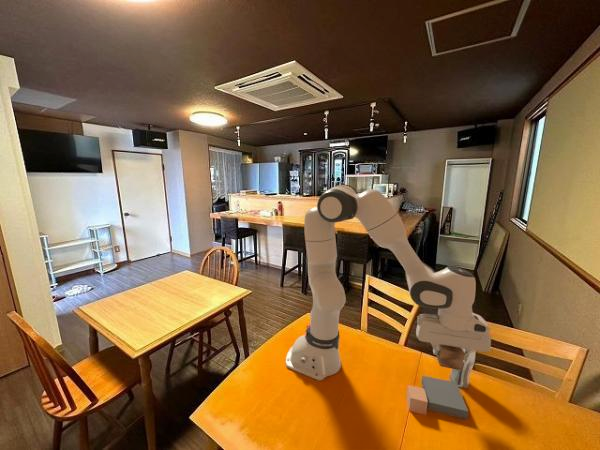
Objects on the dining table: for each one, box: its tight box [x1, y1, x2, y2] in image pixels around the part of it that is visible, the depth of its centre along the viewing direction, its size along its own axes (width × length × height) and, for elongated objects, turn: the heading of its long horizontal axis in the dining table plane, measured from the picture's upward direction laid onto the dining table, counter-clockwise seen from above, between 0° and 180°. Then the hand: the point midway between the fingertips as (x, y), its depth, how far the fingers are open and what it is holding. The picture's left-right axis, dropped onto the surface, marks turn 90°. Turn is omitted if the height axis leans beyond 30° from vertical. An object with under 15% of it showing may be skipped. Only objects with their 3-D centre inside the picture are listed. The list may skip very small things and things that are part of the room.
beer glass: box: [449, 348, 477, 389], centre depth 87 cm, size 7×7×15 cm
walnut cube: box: [435, 344, 464, 370], centre depth 78 cm, size 6×6×6 cm
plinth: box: [421, 375, 469, 420], centre depth 81 cm, size 11×11×3 cm
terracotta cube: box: [406, 384, 428, 416], centre depth 78 cm, size 5×5×5 cm
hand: (448, 355), depth 78 cm, fingers closed on walnut cube, 6 cm apart
